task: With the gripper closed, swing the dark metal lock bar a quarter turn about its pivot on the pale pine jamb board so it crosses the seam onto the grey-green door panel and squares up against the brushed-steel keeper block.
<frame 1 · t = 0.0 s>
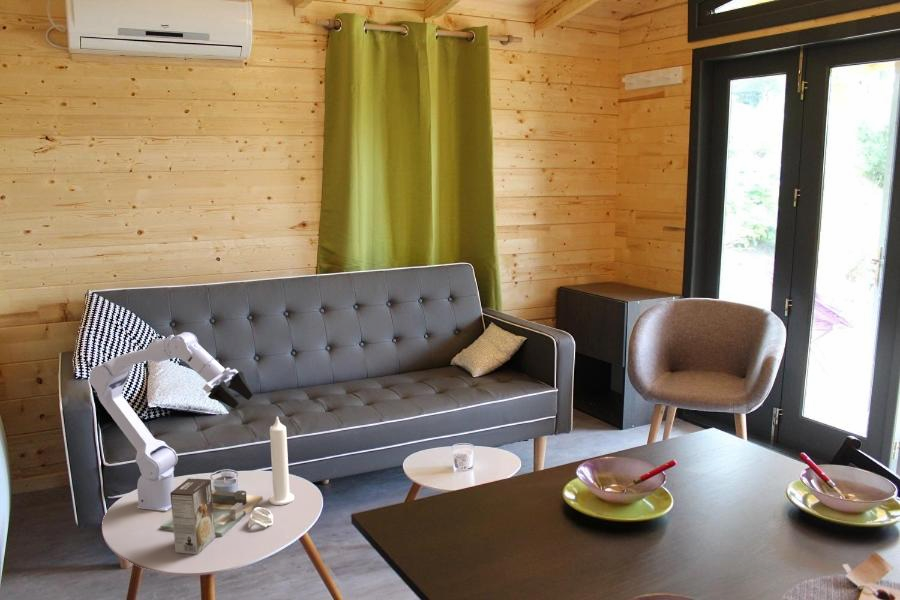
hand: (244, 401, 203), 32 cm above the table, fingers open, 7 cm apart
door and jamb: (213, 513, 210), on the table
coffee box: (195, 545, 193), on the table
white curved piece: (261, 524, 204), on the table
lock bar: (226, 496, 213), point 3 cm above the table, hinge at 0.0°
candle: (281, 500, 218), on the table
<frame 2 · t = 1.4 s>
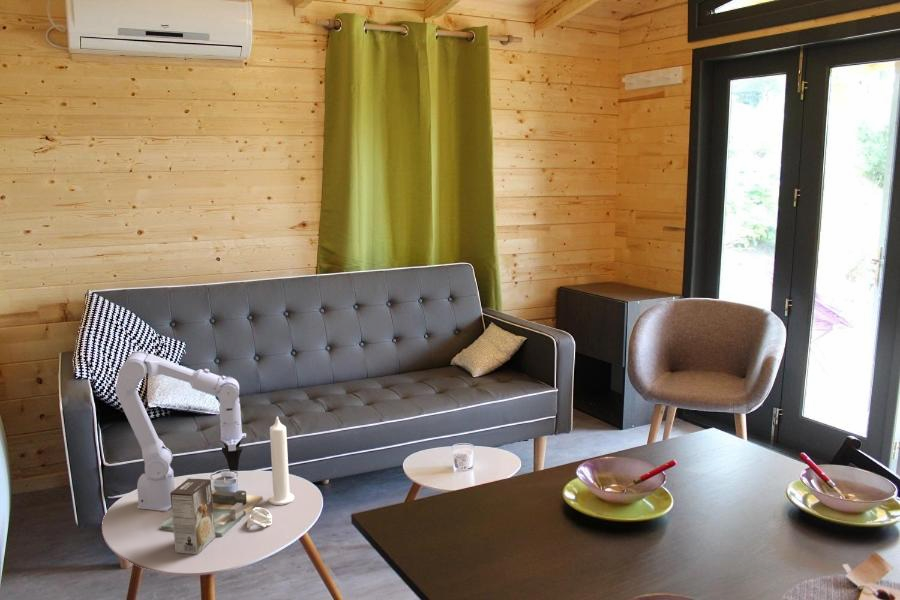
hand: (233, 466, 218), 9 cm above the table, fingers open, 6 cm apart
nothing on the table moved.
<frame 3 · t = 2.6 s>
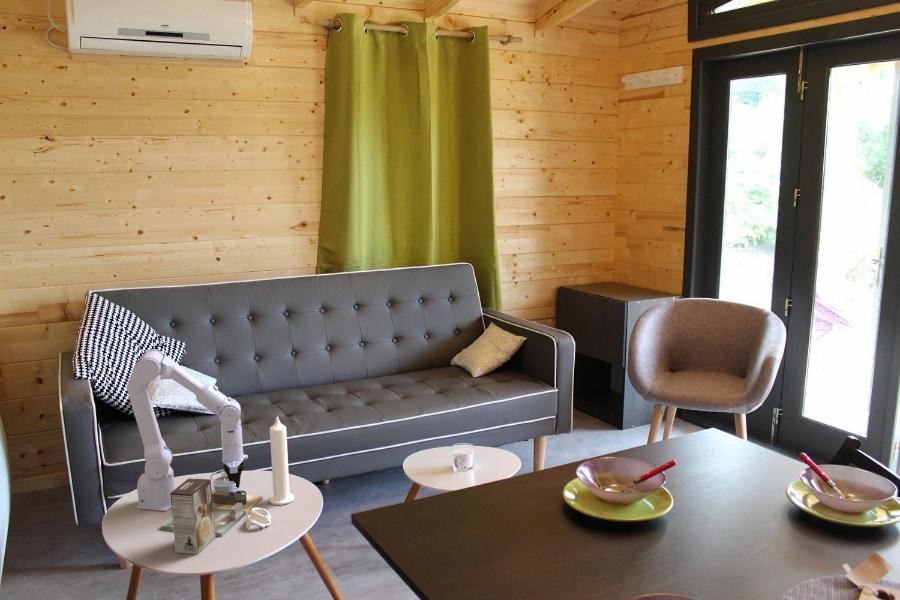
hand: (235, 487, 220), 3 cm above the table, fingers closed
nothing on the table moved.
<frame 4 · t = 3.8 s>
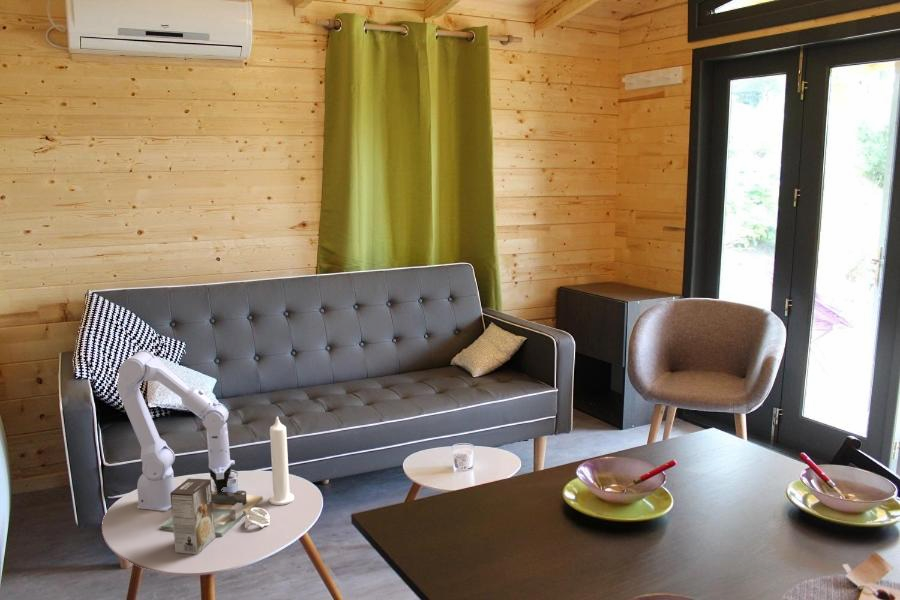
hand: (222, 493, 216), 3 cm above the table, fingers closed, pressing on lock bar
lock bar: (226, 496, 213), point 3 cm above the table, hinge at 2.9°, touching gripper
everything else where it was.
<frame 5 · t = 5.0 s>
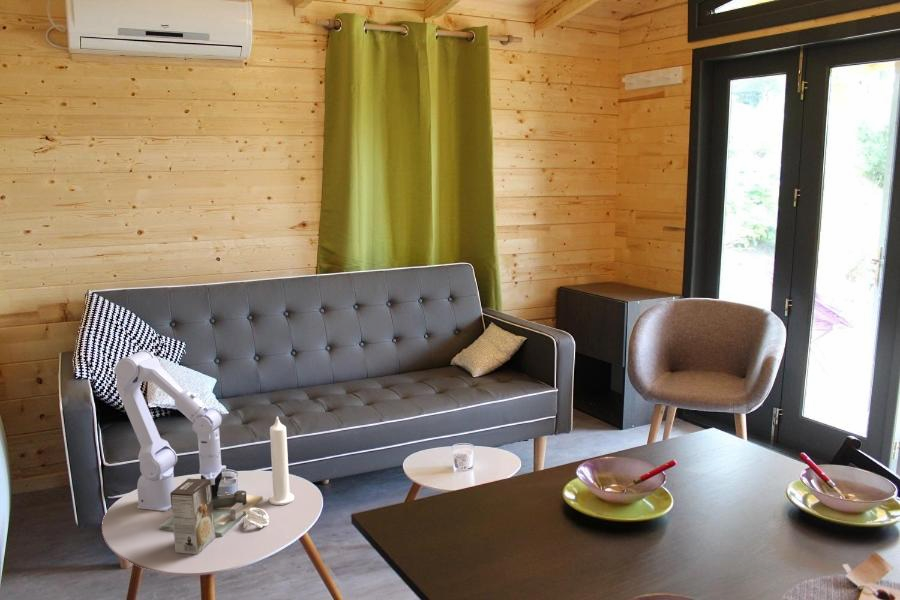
hand: (213, 499, 213), 3 cm above the table, fingers closed, pressing on lock bar
lock bar: (224, 499, 212), point 3 cm above the table, hinge at 26.3°, touching gripper
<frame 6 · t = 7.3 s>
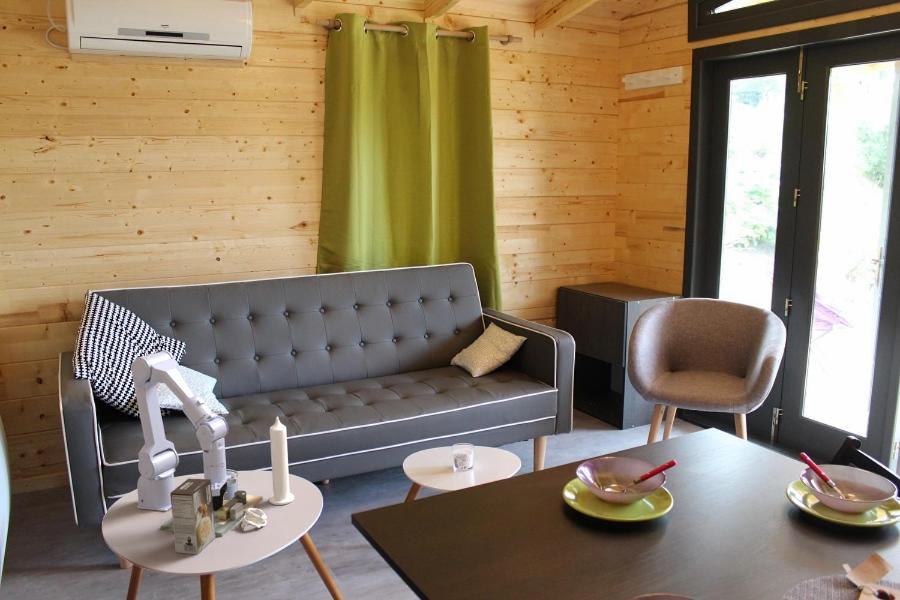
hand: (217, 510, 206), 3 cm above the table, fingers closed
lock bar: (232, 504, 208), point 3 cm above the table, hinge at 90.3°, touching gripper
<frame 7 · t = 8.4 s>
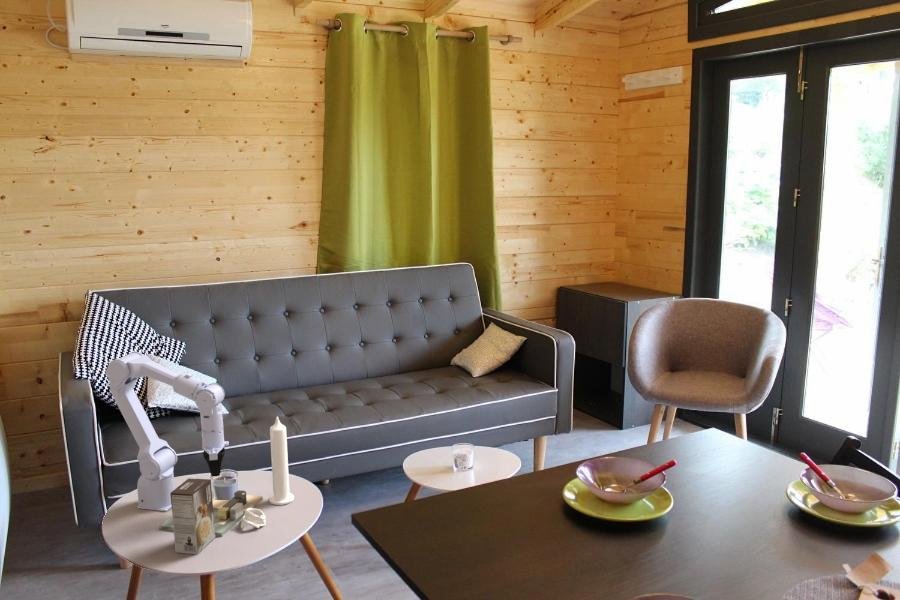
hand: (215, 475, 211), 10 cm above the table, fingers closed
lock bar: (232, 504, 208), point 3 cm above the table, hinge at 90.4°
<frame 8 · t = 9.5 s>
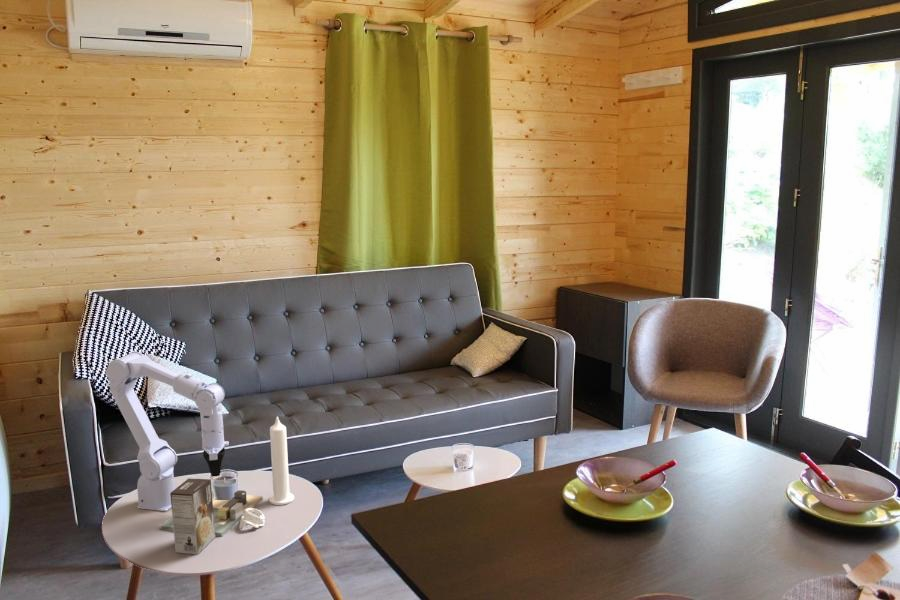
hand: (215, 475, 211), 10 cm above the table, fingers closed
at the end: lock bar at +90° (first picture: +0°); the gripper is holding nothing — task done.
